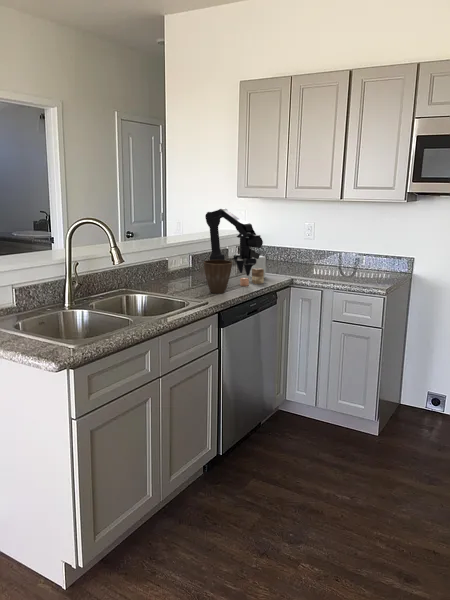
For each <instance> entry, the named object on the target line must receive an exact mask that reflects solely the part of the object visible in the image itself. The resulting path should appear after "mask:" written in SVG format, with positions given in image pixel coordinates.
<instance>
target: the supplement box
mask: <svg viewBox="0 0 450 600" xmlns="http://www.w3.org/2000/svg"><path fill="white" fill-rule="evenodd" d="M252 258H253V257H252ZM255 259H256V258H255ZM256 260H257V262H256V264H255V265H253V266H252V268H261V269H264V279H265V278H266V266H267V265H266V264H267V257H266V256H264V255H260V256H259V259H256ZM252 268H251V271H250V274H249V276H250V277H251V278H252Z"/></svg>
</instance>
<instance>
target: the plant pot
mask: <svg viewBox="0 0 450 600" xmlns="http://www.w3.org/2000/svg"><path fill="white" fill-rule="evenodd" d="M232 267H233V261H231V260H226V259H225V260H210V259H207V260H204V261H203V269H204V274H205V279H206V283H207V286H208V289H209V291H210V293H211V292H212V294H223V293H225V291H226V289H227V287H228V285H229V281H230V276H231V274H232V273H231V272H232V269H233V268H232Z"/></svg>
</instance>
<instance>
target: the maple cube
mask: <svg viewBox="0 0 450 600" xmlns="http://www.w3.org/2000/svg"><path fill="white" fill-rule="evenodd" d="M251 281H252V282H253V283H255V284H258V285H261V284H260V283H264V282H265V278H264V276H261V277H255V276H252V277H251Z"/></svg>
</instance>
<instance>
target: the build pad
mask: <svg viewBox="0 0 450 600" xmlns="http://www.w3.org/2000/svg"><path fill="white" fill-rule="evenodd" d="M249 284H251V285H253V286H255V285H267V284H269V283H267V282H266V281H264V283H260V284H255V283H253V282H252V280H250V281H249Z"/></svg>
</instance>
